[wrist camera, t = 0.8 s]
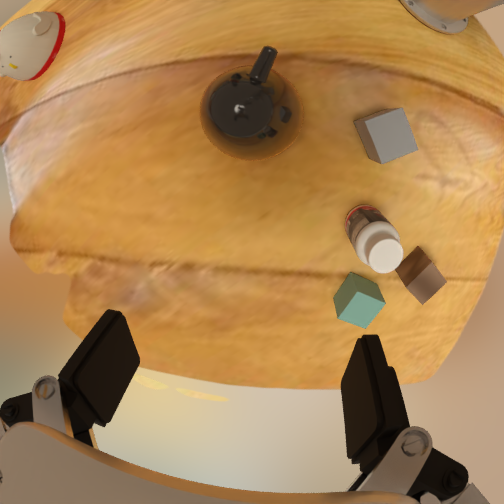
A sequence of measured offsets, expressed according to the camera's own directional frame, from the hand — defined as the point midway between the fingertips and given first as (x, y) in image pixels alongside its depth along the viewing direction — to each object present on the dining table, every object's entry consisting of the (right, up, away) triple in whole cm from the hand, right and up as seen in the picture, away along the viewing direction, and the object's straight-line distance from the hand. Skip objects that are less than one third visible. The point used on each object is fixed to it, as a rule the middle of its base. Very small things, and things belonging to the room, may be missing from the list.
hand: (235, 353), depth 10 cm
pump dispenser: (+2, +20, +19) cm, 28 cm away
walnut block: (+25, +2, +26) cm, 36 cm away
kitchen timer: (-37, +41, +14) cm, 57 cm away
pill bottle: (+15, +8, +24) cm, 29 cm away
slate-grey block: (+16, +18, +18) cm, 31 cm away
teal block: (+16, -2, +29) cm, 33 cm away
